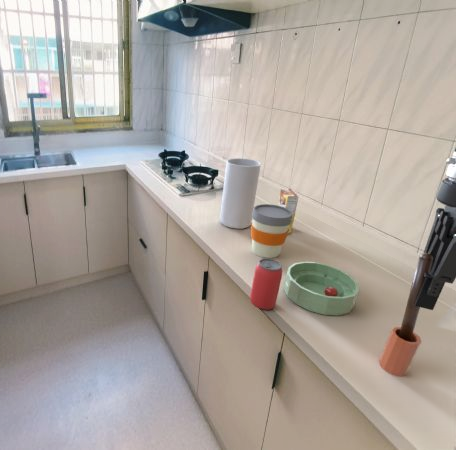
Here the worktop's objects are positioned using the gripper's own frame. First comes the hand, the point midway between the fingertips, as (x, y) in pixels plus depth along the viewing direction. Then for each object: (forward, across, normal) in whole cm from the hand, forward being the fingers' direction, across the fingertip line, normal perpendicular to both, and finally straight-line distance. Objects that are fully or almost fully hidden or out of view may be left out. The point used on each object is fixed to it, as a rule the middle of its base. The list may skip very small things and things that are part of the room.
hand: (421, 302), depth 63 cm
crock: (+17, 0, 0) cm, 17 cm away
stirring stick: (+12, 0, 0) cm, 12 cm away
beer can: (+17, -10, -28) cm, 34 cm away
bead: (+14, -20, -12) cm, 27 cm away
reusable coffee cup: (+17, -40, -32) cm, 54 cm away
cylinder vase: (+17, -59, -47) cm, 77 cm away
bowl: (+17, -20, -15) cm, 30 cm away
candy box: (+17, -63, -29) cm, 71 cm away
